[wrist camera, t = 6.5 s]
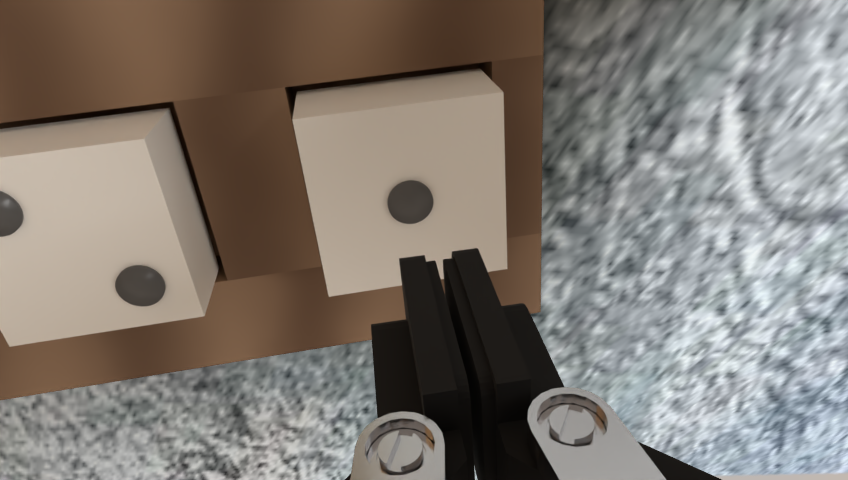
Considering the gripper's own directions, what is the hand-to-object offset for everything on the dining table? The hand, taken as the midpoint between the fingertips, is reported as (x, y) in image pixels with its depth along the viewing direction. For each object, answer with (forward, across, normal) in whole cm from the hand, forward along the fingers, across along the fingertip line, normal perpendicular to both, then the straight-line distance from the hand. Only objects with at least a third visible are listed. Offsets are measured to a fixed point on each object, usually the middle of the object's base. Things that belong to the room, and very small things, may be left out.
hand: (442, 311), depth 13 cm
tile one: (+9, 0, 0) cm, 9 cm away
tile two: (+9, +10, 0) cm, 14 cm away
